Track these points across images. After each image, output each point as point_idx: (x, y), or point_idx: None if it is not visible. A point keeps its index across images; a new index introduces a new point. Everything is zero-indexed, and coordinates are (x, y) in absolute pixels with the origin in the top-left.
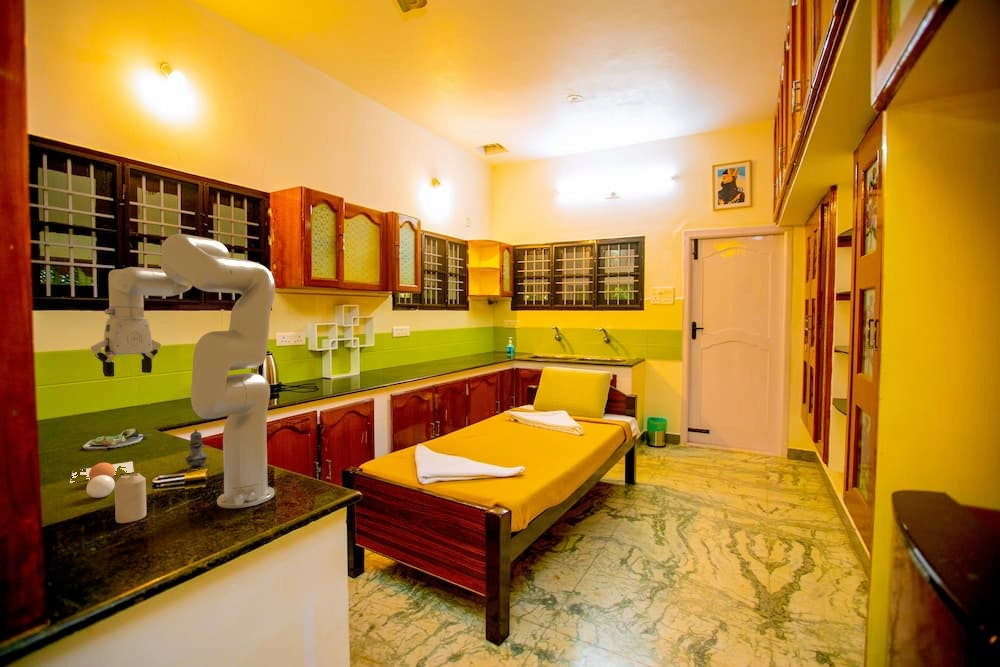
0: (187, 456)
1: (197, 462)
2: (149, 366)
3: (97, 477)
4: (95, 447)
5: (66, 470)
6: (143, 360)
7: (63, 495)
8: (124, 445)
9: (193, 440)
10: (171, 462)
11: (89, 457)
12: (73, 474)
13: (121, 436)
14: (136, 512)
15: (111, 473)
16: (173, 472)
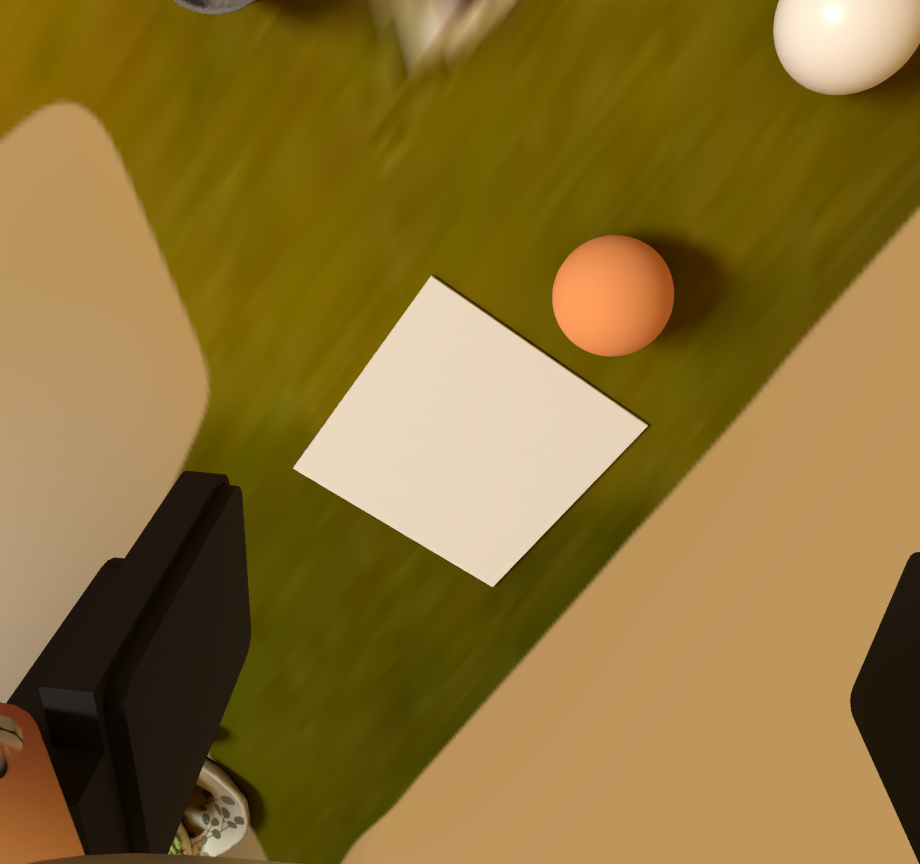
0: (232, 5)
1: None
2: (176, 552)
3: (901, 14)
4: (228, 788)
5: (488, 623)
6: (155, 812)
7: (808, 270)
8: None
9: None
10: (214, 245)
11: (315, 708)
12: (537, 533)
13: None
14: None
15: (604, 238)
16: (354, 19)
